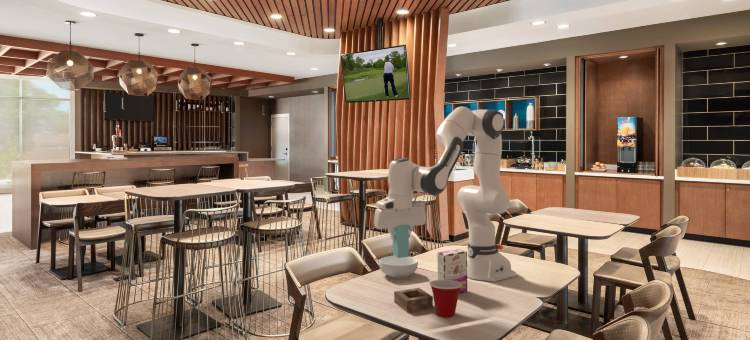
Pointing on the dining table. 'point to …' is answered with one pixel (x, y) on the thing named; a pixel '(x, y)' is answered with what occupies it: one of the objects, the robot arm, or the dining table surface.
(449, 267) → the candy bar box
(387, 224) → the robot arm
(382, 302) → the dining table surface
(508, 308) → the dining table surface
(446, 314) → the plastic cup
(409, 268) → the cereal bowl
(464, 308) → the dining table surface
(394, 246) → the teal peg
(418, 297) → the pocket block
